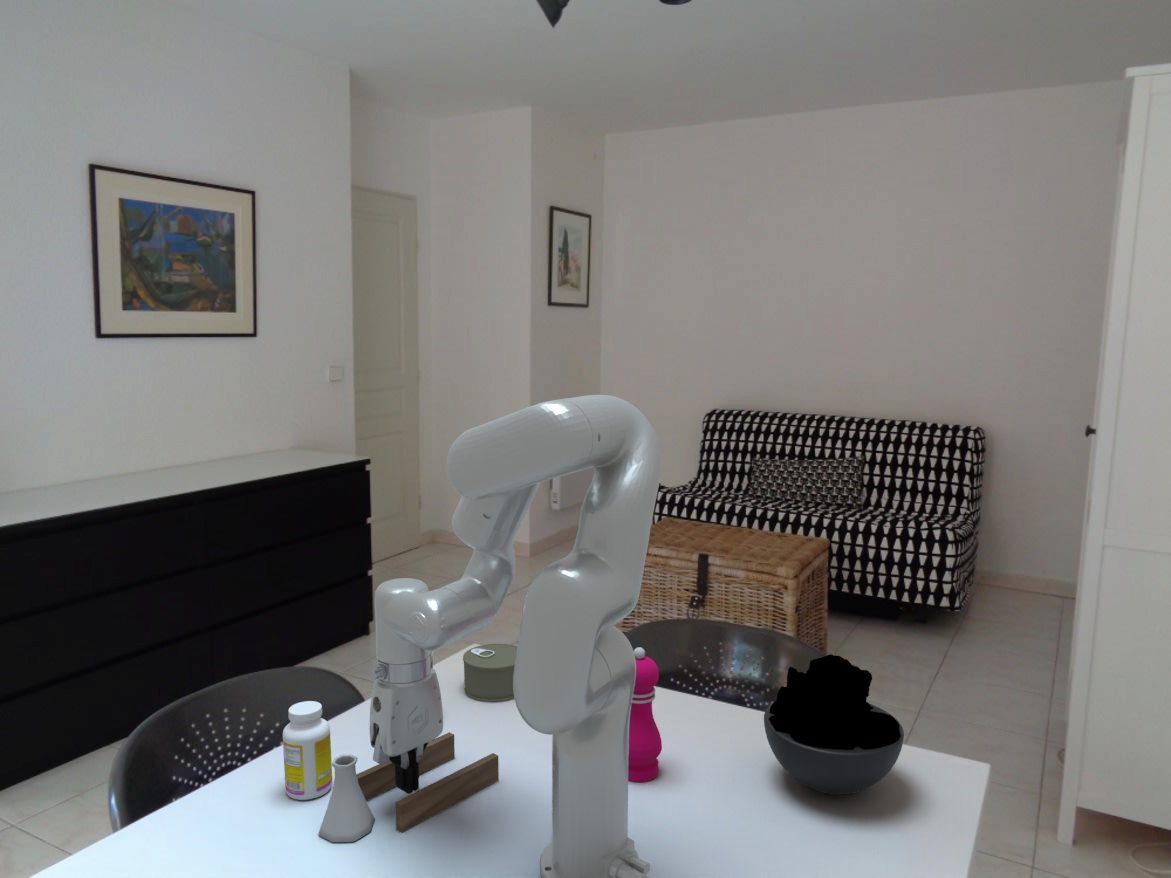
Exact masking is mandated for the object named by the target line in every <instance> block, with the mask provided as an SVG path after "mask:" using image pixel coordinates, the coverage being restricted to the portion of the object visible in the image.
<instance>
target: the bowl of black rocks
mask: <svg viewBox="0 0 1171 878" xmlns="http://www.w3.org/2000/svg"><path fill="white" fill-rule="evenodd" d="M786 674H787V675H786V686H784V685H782V686H780V687H779V689H778V692H777V696H776V700H775V701H773V702H772V703H770V704H769V705H768V707H767V708H766V709H765V711H764V713H763V714H764V715H763V725H764V731H765V735H766V740H767V743H768V745H769V747H770V749H771V751H772V753H773V755H774V756H775V759H776V760H777V761H778V763H779V764H780V766H781V767H783V770H785V771H786V772H787V773H788V774H789V775H791V777H792V778H794V779H795V780H796V781H798V782H799V783H801V784H803V785H805V786H806V787H808V788H810V789H812V790H814V791H817V792H821V793H824V794H825V793H826V794H831V795H832V794H833V795H849V794H850V795H851V794H855V793H858V792H863V791H865V790H867V789H869V788H871V787H873V786H874V785H876V784H878V783H879V782H880V781H882V780H883V779H884V778H885V777H886V776H887V775H888V774H889V772H891V770H892V768H893V767H894V766H895V764H896V763H897V760H898V758H899V757H900V754H901V751H902V748H903V744H904V739H905V732H904V729H903V726H902V724H901V723H900V721H899V720H898V719H897V718H896V717H895V716H893V714H891V713H889V712H888V711H886V710H885V709H883V708H881V707H879V706H876V705H874V704H872V703H869V701H867V698H869V696H870V687H871V684H872V681H873V674H872V673H871V672H870V671H869V670H866V669H861V668H859V666H856V665H854V664H852V663H851V661H849V659H847V658H844V657H842V656H840V655H833V654H831V653H829V654H827V655H825V656H821V657H818V658H813V659H811V660H810V661H809V667H808V669H807V670H806V672H805V673H804V672H803V671H798V670H797V669H796V668H794V667H793V666H789V667H788V670H787V673H786Z"/></svg>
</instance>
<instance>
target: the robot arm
mask: <svg viewBox="0 0 1171 878" xmlns="http://www.w3.org/2000/svg"><path fill="white" fill-rule="evenodd" d="M661 456H662V455H661V449H660V444H659V441H658V437H657V435H656V432H655V430H654V428H653V426H652V425H651V423H650V422H649V420H648V418H647V417H646V416H645V415H644V414H643V412H641V410H639V409H638V408H637V407H636V406H635V405H633V404H632V402H629V401H627V400H625V399H622V398H620V397H618V396H614V395H609V394H589V395H581V396H575V397H567V398H561V399H553V400H552V399H551V400H548V401H543V402H539V403H537V404H534V405H530V406H528V407H525V408H522V409H520V410H517V411H515V412H513V413H512V412H511V413H510V414H507V415H504V416H501V417H499V418H496V419H493V420H490V421H488V422H486V423H483V424H480V425H478V426H475V427H472V428H469V429H467V430H465V431H464V432H462V433H461V434H460V435H459V436H458V437H457V438H456V439H455V440H454V441H453V443H452V444H451V446H450V447H449V451H448V453H447V456H446V464H445V468H446V469H445V471H446V475H447V478H448V479H447V480H448V481H449V483H450V485H451V487H452V488H453V490H454V491H455V492H456V493H458V494H459V495H460V496H461V497H460V500H459V502H458V504H457V505H456V508H455V510H454V512H453V514H452V518H451V528H452V530H453V533H454V534H455V535H456V536H457V539H459V540H460V541H461V542H462V543H463V544H465V545H466V546H468V547H469V548H472V549H473V552H472V555H471V558H470V559H469V562H468V564H467V566H466V569H465V571H464V572H463V574H462V576H461V578H460V579H458V580H456V581H453V582H451V583H449V584H446V585H444V586H442V587H440V588H437V589H433V590H430V591H429V587H428V586H427V584H426V582H424V581H422V580H420V579H417V578H410V577H405V578H404V577H401V578H399V577H398V578H393V579H389V580H386V581H384V582H381V583H380V584H379V585H378V586H377V588H376V589H375V591H374V619H375V620H374V621H375V648H376V649H375V652H376V667H375V668H374V669H372V670H371V671H370V676H371V678H372V679H373V680H374V681H373V685H372V691H371V696H370V697H371V699H370V707H369V709H370V710H369V742H370V745H371V747H372V748H373V749H374V750H373V755H372V761H374V762H376V763H377V764H382V763H387V762H392V763H393V764H395V782H396V786H397V787H396V788H397V789H399V790H401V791H402V792H404V793H407V794H408V795H410V794H412V793H414V792H416V791H418V790H420V789H419V788H420V787H419V786H420V783H419V779H420V775H419V762H421V760H422V757H423V751H424V750H425V748H426V746H427V744H429V743H430V742H431V741H433V740H434V739H435V738H438V737H440V736H441V734H442V733H443V730H444V712H443V710H444V709H443V702H442V700H443V699H442V693H441V687H440V683H439V678H438V675H437V672H436V670H435V669H434V667H433V668H431V651H432V650H433V651H437V650H441V649H443V648H445V647H448V646H450V645H451V644H454V643H456V642H458V641H460V640H461V639H463V638H465V637H468V636H469V635H471V634H474V633H475V632H478V631H479V630H482V629H484V628H485V627H487V625H489V624H490V623H491V622H492V621H493V620H494V618H495V617H496V616H497V614H498V613H499V611H500V610H501V608H502V606H503V603H504V602H505V599H506V596H507V595H508V592H509V591H510V589H511V586H512V583H514V582H513V581H514V579H515V578H514V577H515V575H516V574H515V572H516V552H515V548H514V541H515V538H516V536H517V535H518V532H519V530H520V527H521V526H522V524H523V521H524V519H525V517H526V514H527V513H528V510H529V509H530V505H531V503H532V502H533V500H534V497H535V496H536V493H537V492H538V489H539V487H540V485H541V483H543V482H547V481H550V480H553V479H556V478H557V479H558V478H560V477H561V478H562V477H564V476H568V475H570V474H575V473H578V472H581V471H585V470H589V469H592V468H593V470H594V471H593V477H592V480H591V482H590V485H589V487H588V489H587V491H586V494H585V495H584V498H583V501H582V504H581V508H580V514H579V522H578V528H577V532H576V537H575V541H574V545H573V547H572V551H571V552H570V553H569V554H567V556H565V557H563V558H560V559H558V560H555V561H553V562H552V563H550V564H549V565H547V566H545V567H544V568H543V569H542V570H541V571H539V573H537V575H536V576H535V577H534V579H533V580H532V582H531V584H530V585H529V588H528V590H527V593H526V596H525V598H524V603H523V609H522V615H521V621H520V628H519V634H518V641H517V653H516V660H515V667H514V675H513V693H514V699H513V700H514V702H515V706H516V709H517V710H518V713H519V715H520V717H521V718H522V720H523V721H524V723H526V724H527V726H529V728H531V729H533V730H534V731H536V732H537V733H540V734H543V735H550V736H552V740H551V744H552V745H551V761H552V762H551V767H552V768H551V775H552V776H551V780H552V781H551V785H552V786H551V787H552V788H551V789H552V790H551V794H552V795H551V796H552V797H551V799H552V801H551V803H552V804H551V807H552V812H551V813H552V814H551V815H552V818H551V820H552V821H551V823H552V825H551V826H552V827H551V828H552V832H551V834H552V835H551V837H552V838H551V839H552V841H551V843H549V844H548V845H547V846H546V847H545V848H544V850H543V851H542V854H541V855H540V860H539V870H540V875H541V878H647V875H648V873H649V872H650V870H651V864H650V863H649V862H647V861H644V860H643V859H641V858H640V857H639V855H638V852H637V851H636V848H635V840H634V839H632V838H630V837H628V836H629V832H628V831H629V824H628V823H629V780H628V754H629V722H630V711H631V704H632V698H633V692H634V686H635V678H636V660H635V655H634V648H633V646H632V645H631V642H630V640H629V639H628V638H627V636H626V634H624V633H623V632H622V630H620V629H618V628H617V627H615V625H616V624H618V623H619V622H622V620H624V619H625V618H626V617H627V616H628V615H630V613H632V611H634V609H635V607H636V605H637V604H638V601H639V597H640V594H641V588H642V581H643V576H644V570H645V564H646V558H647V553H648V548H649V541H650V535H651V534H650V533H651V528H652V527H651V526H652V521H653V515H654V510H655V505H656V502H657V501H656V500H657V496H658V493H659V492H658V491H659V485H660V481H661V480H660V478H661V471H662V469H661V468H662V457H661Z"/></svg>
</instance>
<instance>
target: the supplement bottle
mask: <svg viewBox="0 0 1171 878" xmlns="http://www.w3.org/2000/svg"><path fill="white" fill-rule="evenodd" d="M322 715H323V706H322V704H321V703H320V702H318V701H316V700H314V701H313V700H306V701H300V702H297V703H294V704H292V705H291V706H290V707H289V708H288V717H287V718H288V719H289V721H290V722H289V723H288V724H287V725H286V726H285V727H284V728H283V730H282V747H283V749H282V751H283V767H284V768H283V769H284V785H285V787H284V788H285V791H286V795H287V796H288V797H290V798H291V799H293V800H299V801H306V800H312V799H317V798H319V797H322V796H323V795H326V793H328V792H329V791H330V790H331V788H332V786H333V766H332V762H333V761H332V745H331V744H332V743H331V742H332V741H331V727H330V724H329V722H328V721H327V720H326V719H325V718H322Z"/></svg>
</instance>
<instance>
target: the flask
mask: <svg viewBox="0 0 1171 878" xmlns="http://www.w3.org/2000/svg"><path fill="white" fill-rule="evenodd" d="M358 759H359V758H358V756H356V755H354V754H340V755H338V756H336V757H335V758H334V759H333V761H332V768H334V779H333V780H334V781H333V784H332V786H333V787H332V791H331V794H330V797H329V801H328V804H327V808H326V810H325V814H324V816H323V819H322V822H321V824H320V827H319V831H318V836H320V837H322V838H324V839H326V840H327V841H329V842H332V843H343V842H344V843H350V842H356V841H357V840H359V839H360V838H362V837H364V836H365V835H366V834H369V833H370V832H371V831H372V829H373V825H374V823H375V819H376V818H375V816H374V814H373V812H372V810H371V808H370V806H369V803H368V801H366V800H365V797H364V795H363V793H362V791H361V788H360V786H359V784H358V779H357V775H356V774H357V773H356V764H357V762H358Z"/></svg>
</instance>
